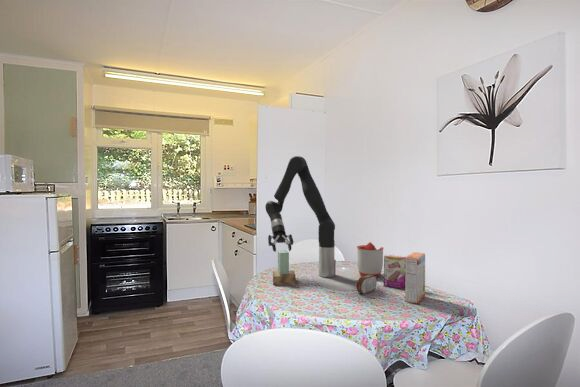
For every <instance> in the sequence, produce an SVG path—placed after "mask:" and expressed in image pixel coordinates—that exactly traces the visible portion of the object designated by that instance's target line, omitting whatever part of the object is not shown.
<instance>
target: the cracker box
mask: <svg viewBox="0 0 580 387" xmlns="http://www.w3.org/2000/svg"><path fill="white" fill-rule="evenodd" d="M404 292H405V296H404V297H405V299H404V300H405V302H407V303H411V304H419V303H420V302H421V301H422V300H423V299H424V298H425V296H426V253H423V252H412V253H410V254H408V255H407V257H405V291H404Z"/></svg>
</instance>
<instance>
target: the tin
mask: <svg viewBox="0 0 580 387" xmlns="http://www.w3.org/2000/svg"><path fill="white" fill-rule="evenodd" d="M377 279H378V277H376V276H374V275H372V274H368V275H365V276H361V275H360V277H359V278H358V280H357V282H356V292H357V293H359V294H361V295H366V294H368V293H371V292H373V291H375V289H376V287H377V284H378V283H377V282H378V281H377Z"/></svg>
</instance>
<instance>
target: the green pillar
mask: <svg viewBox="0 0 580 387" xmlns="http://www.w3.org/2000/svg"><path fill="white" fill-rule="evenodd" d="M289 252H290V251H289V250H278V251H277V271H278V273H279V274H280V275H284V274H289V271H290V253H289Z"/></svg>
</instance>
